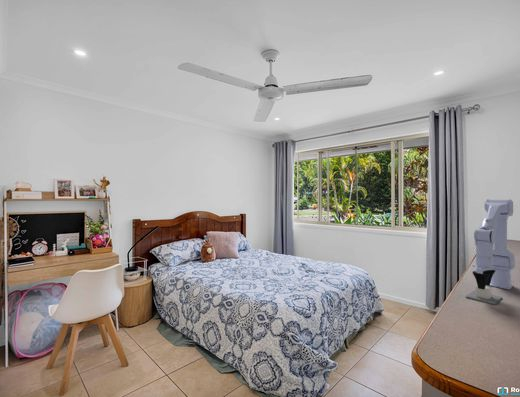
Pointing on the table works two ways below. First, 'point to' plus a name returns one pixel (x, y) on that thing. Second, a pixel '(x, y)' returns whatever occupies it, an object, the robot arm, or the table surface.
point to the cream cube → (484, 292)
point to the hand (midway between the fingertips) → (483, 287)
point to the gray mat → (492, 300)
